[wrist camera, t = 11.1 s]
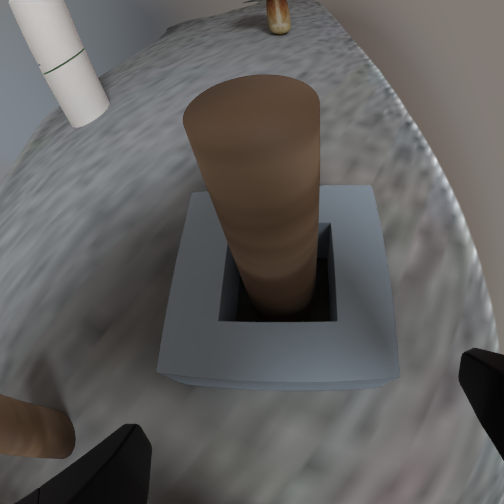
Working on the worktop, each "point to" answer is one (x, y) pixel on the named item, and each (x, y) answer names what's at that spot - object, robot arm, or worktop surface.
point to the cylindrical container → (61, 58)
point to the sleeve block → (283, 333)
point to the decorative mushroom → (278, 16)
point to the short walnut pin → (34, 430)
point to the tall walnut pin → (264, 184)
